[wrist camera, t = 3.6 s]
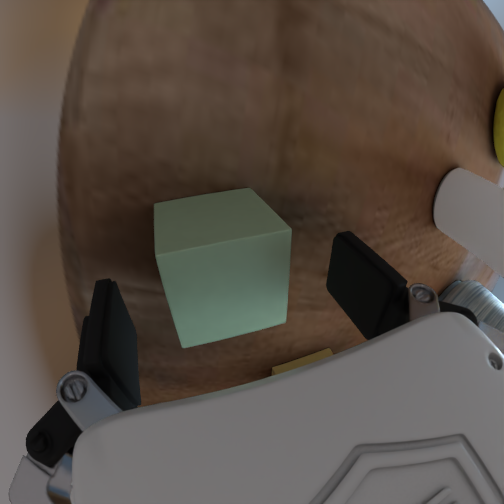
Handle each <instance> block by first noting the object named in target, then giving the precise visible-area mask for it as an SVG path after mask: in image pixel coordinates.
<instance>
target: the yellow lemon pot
mask: <svg viewBox="0 0 504 504" xmlns="http://www.w3.org/2000/svg"><path fill="white" fill-rule="evenodd" d="M493 132H494V147H495V151H496V154H497V158H498V160H499V163H500V164H501V165H502V166H503V167H504V89H502V91H501V93H500V95H499V97H498V100H497V103H496V110H495V116H494V129H493Z"/></svg>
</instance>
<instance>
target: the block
mask: <svg viewBox="0 0 504 504" xmlns="http://www.w3.org/2000/svg"><path fill="white" fill-rule="evenodd" d="M291 235H292V229H291V228H290V227H289V226H288V225H287V224H286V223H285V222H284V221H283V220H282V219H281V218H280V217H279V216H278V215H277V214H276V213H275V212H274V211H273V210H272V209H271V208H270V207H269V206H268V205H267V204H266V203H265V202H264V201H263V200H262V199H261V198H260V197H259V196H258V195H257V194H256V193H255V192H254V191H253V190H252V189H251V188H244V189H237V190H230V191H223V192H217V193H211V194H204V195H198V196H193V197H187V198H181V199H176V200H170V201H165V202H160V203H155V204H154V239H155V257H156V261H157V265H158V269H159V273H160V277H161V280H162V284H163V288H164V291H165V295H166V298H167V302H168V305H169V308H170V312H171V315H172V318H173V321H174V325H175V328H176V331H177V334H178V337H179V340H180V343H181V346H182V348H187V347H191V346H196V345H200V344H205V343H209V342H214V341H218V340H222V339H226V338H230V337H234V336H238V335H242V334H246V333H250V332H253V331H257V330H261V329H265V328H268V327H272V326H275V325H279V324H282V323H285V322H286V314H287V301H288V287H289V271H290V254H291Z"/></svg>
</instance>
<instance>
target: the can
mask: <svg viewBox="0 0 504 504" xmlns="http://www.w3.org/2000/svg"><path fill="white" fill-rule="evenodd" d="M433 218H434V221H435V224H436V227H437V228H438V229H439V230H440V231H442V232H443V233H445V234H446V235H447V236H449V237H450V238H452V239H453V240H455V241H456V242H457V243H459V244H460V245H461V246H463V247H464V248H466V249H467V250H468V251H470V252H471V253H472V254H474V255H475V256H476V257H478V258H479V259H480V260H482V261H483V262H484V263H485V264H487V265H488V266H489V267H491V268H492V269H493V270H494V271H496V272H497V273H498V274H499V275H500V276H502V277H503V278H504V189H503V188H501V187H500V186H498V185H496V184H494V183H492V182H490V181H488V180H486V179H484V178H482V177H480V176H478V175H476V174H474V173H472V172H470V171H467V170H465V169H463V168H456V169H454V170H451V171H450V172H449V173H447V175H446V176H445V177H444V178H443V180H442V181H441V183H440V185H439V187H438V190H437V192H436V195H435V199H434V204H433Z"/></svg>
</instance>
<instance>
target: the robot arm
mask: <svg viewBox="0 0 504 504" xmlns="http://www.w3.org/2000/svg"><path fill="white" fill-rule="evenodd" d="M407 282H408V281H407V280H406V279H405V278H403V277H402V276H401V275H400V274H399V273H398V272H397V271H396V270H395V269H394V268H392V267H391V266H390V265H389V264H388V263H387V262H386V261H385V260H384V259H382V258H381V257H380V256H379V255H378V254H377V253H376V252H374V251H373V250H372V249H371V248H370V247H369V246H367V245H366V244H365V243H364V242H363V241H361V240H360V239H359V238H358V237H357V236H355V235H354V234H353V233H352V232H350V231H346V232H340V233H338V234H337V235H336V237H334V239H333V246H332V252H331V259H330V265H329V271H328V277H327V283H326V286H327V290H328V291H329V293H330V294H331V295H332V296H333V298H334V299H335V300H336V301H337V303H338V304H339V305H340V306H341V308H342V309H343V310H344V311H345V313H346V314H347V315H348V316H349V318H350V319H351V320H352V322H353V323H354V324H355V325H356V327H357V328H358V329H359V331H360V332H361V333H362V334H363V336H364V337H365V338H366V339H367V340H368V341H366V342H364V343H361V344H359V345H357V346H354V347H352V348H349V349H347V350H344V351H342V352H339V353H337V354H334V355H332V356H329V357H326V358H324V359H321V360H318V361H316V362H313V363H310V364H307V365H304V366H302V367H299V368H296V369H293V370H290V371H287V372H284V373H280V374H277V375H274V376H271V377H267V378H264V379H261V380H257V381H254V382H250V383H247V384H243V385H239V386H236V387H232V388H228V389H224V390H220V391H216V392H211V393H207V394H202V395H198V396H193V397H189V398H184V399H179V400H174V401H169V402H164V403H158V404H153V405H149V406H144V407H139V408H138V407H137V406H138V405H141V396H140V385H139V371H138V354H137V334H136V329H135V327H134V325H133V322H132V320H131V318H130V315H129V313H128V311H127V308H126V306H125V304H124V301H123V299H122V296H121V294H120V291H119V289H118V286H117V283H116V282H115V281H111V279H109V278H108V279H103V280H98V281H96V283H95V288H94V293H93V298H92V303H91V308H90V314H89V316H86V317H85V318H84V321H83V326H82V332H81V339H80V345H79V353H78V361H77V370H76V371H71V372H68V373H67V374H65V375H64V376H63V377H62V378H61V379H60V380H59V382H58V385H57V389H56V393H57V397H58V401H57V402H56V403H55V404H54V405H53V406H52V408H51V409H50V410H49V411H48V412H47V413H46V414H45V415H44V416H43V417H42V418H41V419H40V420H39V421H38V422H37V423H36V424H35V425H34V427H33V428H32V429H31V430H30V431H29V433H28V434H27V437H26V448H27V451H28V454H27V456H24V455H23V457H22V459H21V462H20V464H19V466H18V469H17V471H16V473H15V476H14V478H13V481H12V483H11V486H10V489H9V500H10V502H11V504H504V332H502V331H500V330H498V329H496V328H495V327H493V326H491V325H489V324H487V323H485V322H483V321H481V320H479V321H478V322H477V318H476V316H475V314H474V313H473V312H472V311H471V310H470V309H468V308H465V307H462V306H458V305H454V304H450V303H447V302H443V301H439V300H438V297H437V294H436V292H435V291H434V290H433V289H432V288H431V287H429V286H427V285H425V284H422V283H415V284H412V285H410V287H409V288H407V287H406V284H407Z"/></svg>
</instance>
